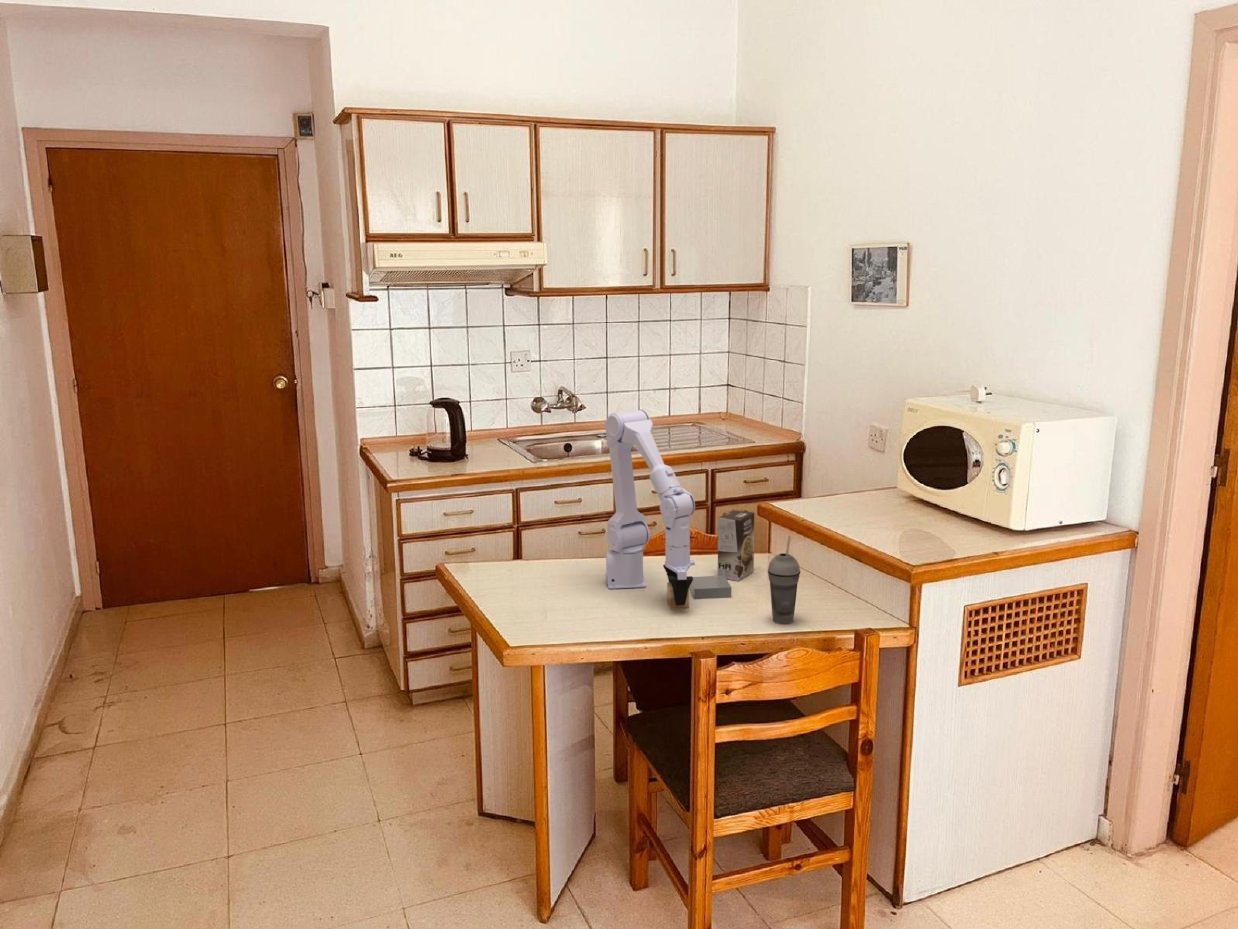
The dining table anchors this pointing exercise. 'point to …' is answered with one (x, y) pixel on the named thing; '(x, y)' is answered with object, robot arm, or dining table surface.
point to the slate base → (710, 587)
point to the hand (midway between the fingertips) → (677, 599)
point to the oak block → (671, 598)
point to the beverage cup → (783, 586)
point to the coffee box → (736, 544)
